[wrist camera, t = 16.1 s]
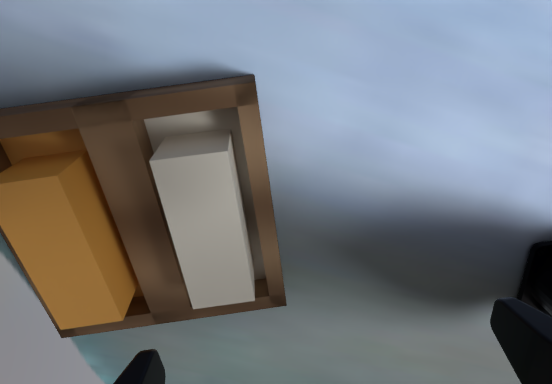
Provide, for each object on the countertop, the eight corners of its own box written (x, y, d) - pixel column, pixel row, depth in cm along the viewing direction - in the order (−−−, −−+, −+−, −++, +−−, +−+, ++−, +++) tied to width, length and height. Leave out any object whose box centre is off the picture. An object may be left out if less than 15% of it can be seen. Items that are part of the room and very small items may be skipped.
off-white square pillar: (165, 136, 18) (148, 160, 15) (230, 128, 18) (227, 151, 15) (200, 268, 22) (192, 309, 19) (253, 261, 22) (254, 300, 19)
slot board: (283, 280, 24) (286, 305, 22) (78, 309, 24) (61, 338, 22) (254, 74, 18) (255, 81, 16) (-25, 112, 18) (-63, 124, 16)
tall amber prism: (23, 158, 18) (-23, 186, 15) (89, 149, 18) (57, 175, 15) (86, 286, 22) (60, 329, 19) (140, 278, 22) (123, 320, 19)
